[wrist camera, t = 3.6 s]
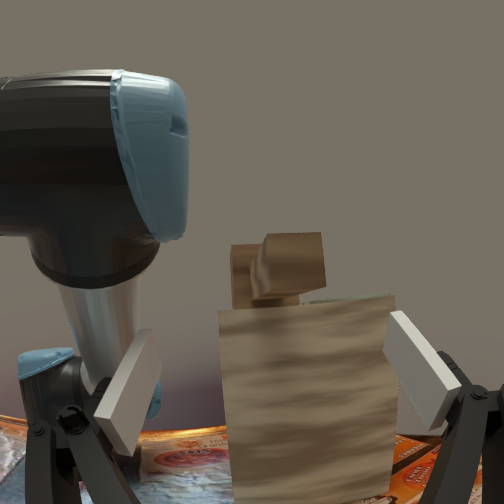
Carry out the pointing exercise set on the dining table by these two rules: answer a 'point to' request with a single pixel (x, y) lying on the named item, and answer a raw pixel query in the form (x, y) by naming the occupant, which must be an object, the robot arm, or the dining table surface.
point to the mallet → (276, 270)
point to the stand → (309, 400)
